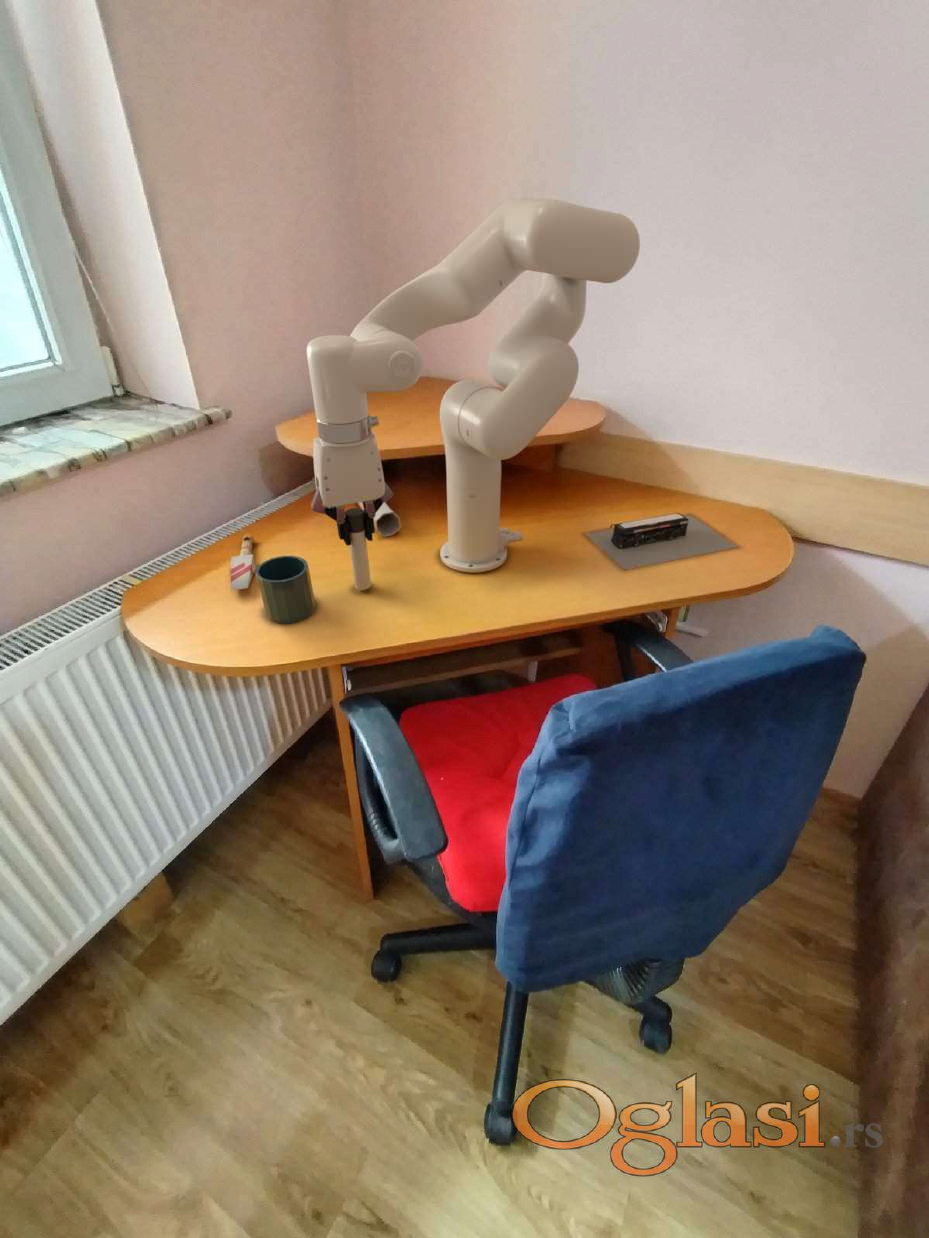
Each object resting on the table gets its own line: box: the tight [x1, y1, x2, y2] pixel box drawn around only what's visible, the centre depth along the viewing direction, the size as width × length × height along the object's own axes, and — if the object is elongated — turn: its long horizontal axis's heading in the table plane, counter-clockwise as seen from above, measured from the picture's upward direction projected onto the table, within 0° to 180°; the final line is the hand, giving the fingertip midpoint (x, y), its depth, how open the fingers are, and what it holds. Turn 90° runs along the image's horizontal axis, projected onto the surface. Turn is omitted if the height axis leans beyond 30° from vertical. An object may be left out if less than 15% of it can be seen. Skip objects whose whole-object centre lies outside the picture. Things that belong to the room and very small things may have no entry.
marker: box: [345, 507, 372, 591], centre depth 100 cm, size 3×3×14 cm
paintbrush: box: [230, 534, 257, 591], centre depth 109 cm, size 4×3×20 cm
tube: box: [357, 501, 402, 538], centre depth 127 cm, size 5×5×25 cm
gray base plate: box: [585, 512, 738, 571], centre depth 116 cm, size 14×25×4 cm, turn 109°
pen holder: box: [254, 555, 316, 625], centre depth 97 cm, size 8×8×8 cm
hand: (357, 538), depth 98 cm, fingers closed on marker, 3 cm apart
